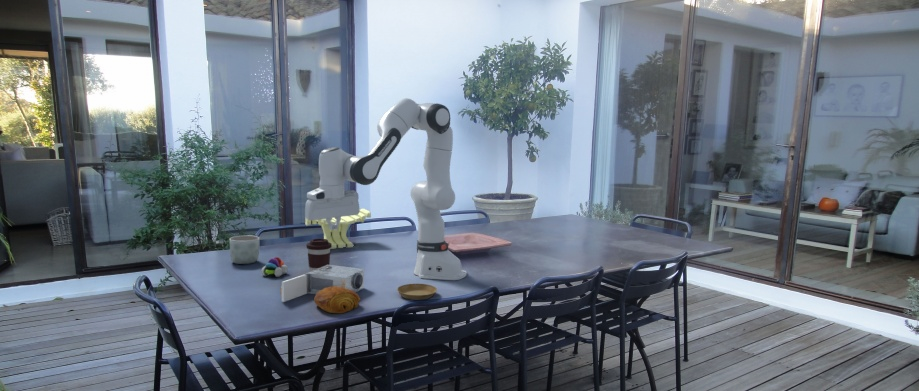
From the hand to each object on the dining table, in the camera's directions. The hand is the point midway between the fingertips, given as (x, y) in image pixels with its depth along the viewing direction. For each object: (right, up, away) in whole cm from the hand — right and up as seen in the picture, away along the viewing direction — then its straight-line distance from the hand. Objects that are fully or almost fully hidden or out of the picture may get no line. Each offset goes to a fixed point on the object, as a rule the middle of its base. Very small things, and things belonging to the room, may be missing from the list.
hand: (333, 229), depth 204 cm
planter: (-49, -17, +42) cm, 67 cm away
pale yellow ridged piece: (-17, -13, +83) cm, 86 cm away
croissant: (+5, -26, -15) cm, 31 cm away
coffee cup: (-11, -21, +23) cm, 33 cm away
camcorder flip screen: (-12, -24, -7) cm, 28 cm away
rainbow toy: (-29, -20, +23) cm, 42 cm away
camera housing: (0, -23, +3) cm, 23 cm away
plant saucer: (+31, -25, 0) cm, 39 cm away
